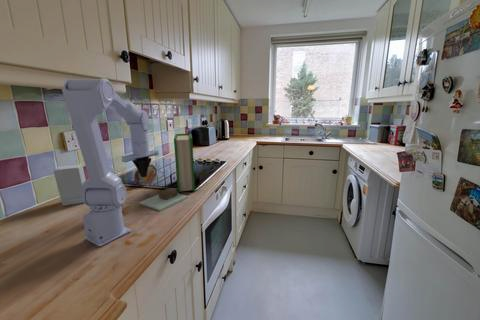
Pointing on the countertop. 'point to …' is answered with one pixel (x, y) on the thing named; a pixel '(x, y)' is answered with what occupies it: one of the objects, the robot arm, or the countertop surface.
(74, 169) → the skincare box
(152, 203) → the tray
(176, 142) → the hardback book
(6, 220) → the countertop surface
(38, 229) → the countertop surface
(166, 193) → the walnut block
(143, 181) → the tin
